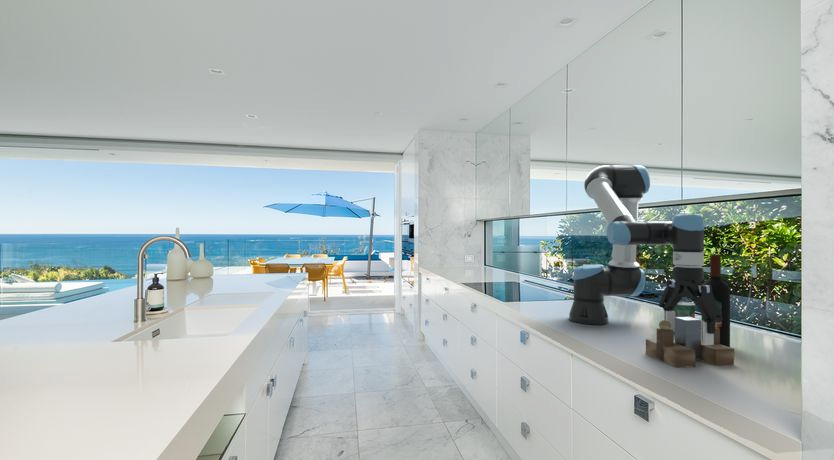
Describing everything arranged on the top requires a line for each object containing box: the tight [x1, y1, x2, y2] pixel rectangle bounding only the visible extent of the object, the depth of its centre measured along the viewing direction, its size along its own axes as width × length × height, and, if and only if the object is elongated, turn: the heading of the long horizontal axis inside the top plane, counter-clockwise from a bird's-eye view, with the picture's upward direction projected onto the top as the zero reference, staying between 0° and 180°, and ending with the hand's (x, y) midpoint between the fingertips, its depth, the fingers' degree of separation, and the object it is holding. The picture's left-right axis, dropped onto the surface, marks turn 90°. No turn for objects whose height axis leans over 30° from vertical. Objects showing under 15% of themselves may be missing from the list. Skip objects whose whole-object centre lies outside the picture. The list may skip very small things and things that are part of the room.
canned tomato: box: [671, 300, 696, 334], centre depth 144 cm, size 8×8×11 cm
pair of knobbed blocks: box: [645, 319, 735, 368], centre depth 115 cm, size 12×18×12 cm, turn 97°
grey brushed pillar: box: [674, 317, 702, 362], centre depth 115 cm, size 4×5×12 cm
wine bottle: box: [700, 254, 731, 348], centre depth 128 cm, size 8×8×30 cm
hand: (688, 338), depth 115 cm, fingers open, 13 cm apart
